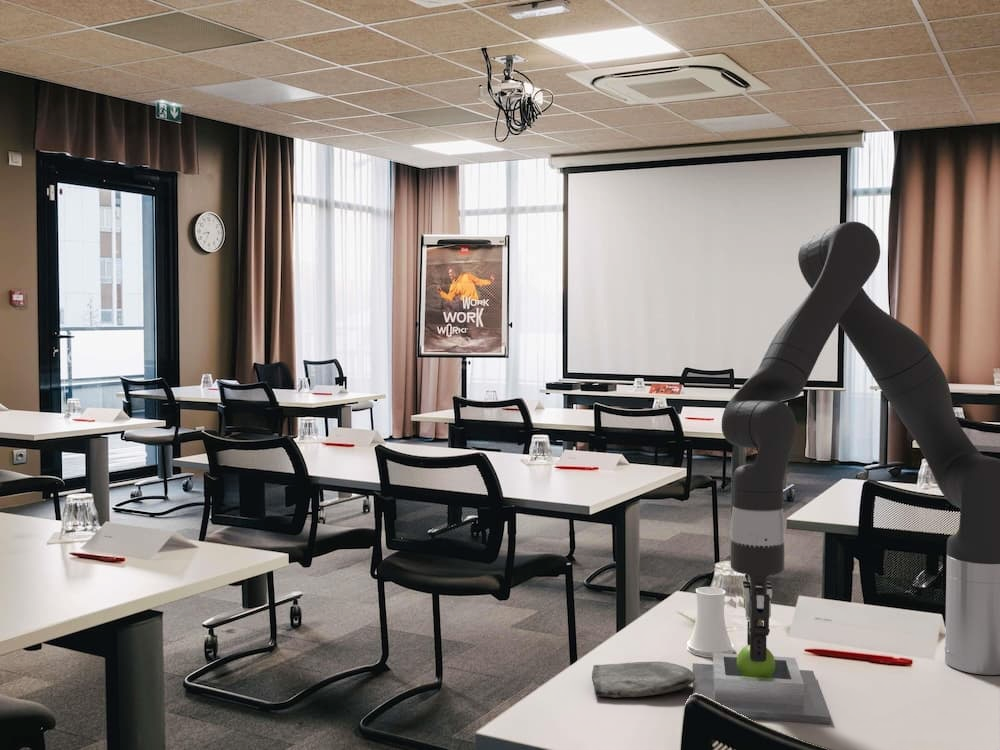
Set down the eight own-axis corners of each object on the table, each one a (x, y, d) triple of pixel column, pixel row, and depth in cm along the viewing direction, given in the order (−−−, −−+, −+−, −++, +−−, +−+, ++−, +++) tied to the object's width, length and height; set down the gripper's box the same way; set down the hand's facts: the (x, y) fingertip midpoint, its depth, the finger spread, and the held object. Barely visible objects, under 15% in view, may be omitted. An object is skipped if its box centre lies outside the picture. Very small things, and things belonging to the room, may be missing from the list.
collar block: (812, 677, 146) (813, 651, 146) (830, 724, 128) (830, 694, 128) (692, 669, 149) (692, 644, 149) (693, 714, 132) (693, 685, 131)
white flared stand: (732, 644, 161) (732, 585, 161) (735, 659, 154) (735, 597, 154) (686, 641, 163) (687, 583, 162) (687, 656, 155) (687, 595, 155)
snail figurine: (776, 675, 141) (777, 595, 140) (774, 690, 135) (774, 606, 134) (738, 671, 143) (739, 591, 142) (734, 686, 137) (735, 603, 136)
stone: (693, 676, 146) (595, 688, 147) (688, 650, 146) (591, 662, 147) (700, 695, 135) (595, 708, 136) (696, 667, 135) (590, 679, 137)
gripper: (789, 550, 130) (788, 672, 131) (779, 529, 144) (778, 639, 145) (732, 547, 131) (732, 668, 132) (728, 527, 146) (728, 636, 146)
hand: (756, 653), depth 138 cm, fingers closed on snail figurine, 5 cm apart
